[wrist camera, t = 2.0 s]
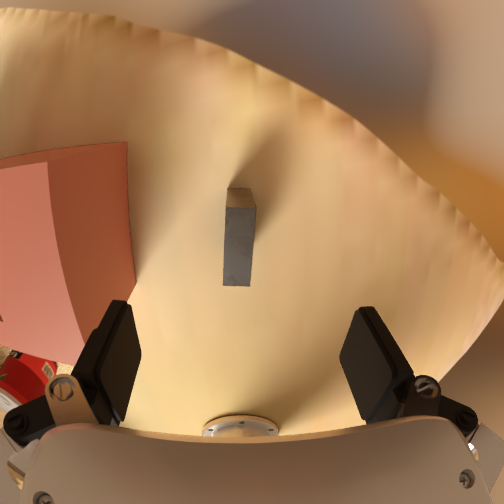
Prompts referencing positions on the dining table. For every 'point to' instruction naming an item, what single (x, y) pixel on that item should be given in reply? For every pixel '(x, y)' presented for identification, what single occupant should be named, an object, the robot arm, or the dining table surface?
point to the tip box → (62, 247)
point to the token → (238, 237)
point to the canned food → (23, 379)
